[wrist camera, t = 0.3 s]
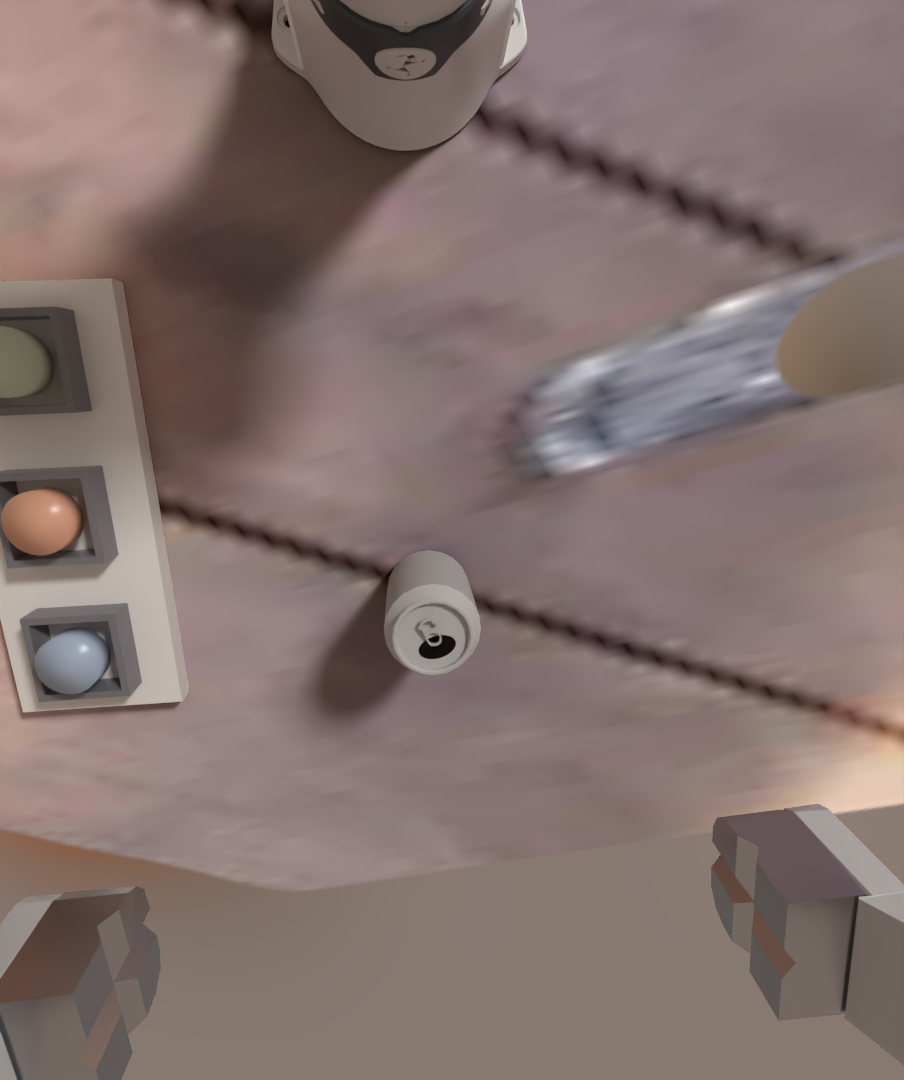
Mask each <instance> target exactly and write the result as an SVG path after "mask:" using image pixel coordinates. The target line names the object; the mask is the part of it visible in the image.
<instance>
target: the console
mask: <svg viewBox="0 0 904 1080" xmlns="http://www.w3.org/2000/svg"><path fill="white" fill-rule="evenodd" d="M0 326H4V327H12V328H19V329H23V330H26V331H29V332H31V333H33V334H34V335H36V336H37V337H38V338H40V339H41V340H42V341H43V342H44V344H45V345H46V346H47V348H48V349H49V351H50V353H51V356H52V359H53V363H54V373H53V377H52V380H51V382H50V384H49V385H48V387H47V388H46V389H45V390H44V391H42V392H41V393H39V394H37V395H34V396H30V397H14V398H2V397H0V620H1V624H2V628H3V632H4V637H5V641H6V645H7V649H8V653H9V657H10V661H11V665H12V670H13V674H14V678H15V682H16V686H17V690H18V694H19V698H20V702H21V707H22V711H23V712H38V711H52V710H67V709H81V708H96V707H110V706H125V705H139V704H154V703H168V702H182V701H183V699H184V698H185V697H186V695H187V694H188V692H189V685H188V679H187V673H186V667H185V660H184V654H183V648H182V642H181V636H180V630H179V624H178V617H177V611H176V605H175V599H174V593H173V587H172V581H171V574H170V568H169V562H168V556H167V550H166V544H165V538H164V531H163V525H162V519H161V513H160V507H159V501H158V495H157V488H156V482H155V476H154V470H153V464H152V458H151V452H150V445H149V439H148V433H147V427H146V421H145V415H144V409H143V402H142V396H141V390H140V384H139V378H138V372H137V366H136V359H135V353H134V347H133V341H132V335H131V329H130V323H129V316H128V310H127V304H126V298H125V292H124V286H123V282H121V281H118V280H115V279H112V278H105V279H68V280H32V281H0ZM44 487H50V488H56V489H59V490H62V491H64V492H66V493H67V494H69V495H70V496H71V497H72V498H74V499H75V501H76V502H77V503H78V504H79V506H80V508H81V510H82V512H83V516H84V528H83V531H82V533H81V535H80V537H79V538H78V539H77V540H76V541H75V542H74V543H72V544H71V545H69V546H67V547H65V548H63V549H61V550H59V551H57V552H55V553H52V554H49V555H43V556H39V555H32V554H28V553H25V552H23V551H21V550H20V549H18V548H16V547H15V546H14V545H13V544H12V543H11V542H10V541H9V540H8V538H7V537H6V535H5V533H4V531H3V528H2V524H1V514H2V511H3V508H4V506H5V505H6V503H7V502H8V501H9V500H10V499H11V498H13V497H14V496H16V495H18V494H21V493H25V492H28V491H31V490H35V489H38V488H44ZM70 628H84V629H88V630H90V631H93V632H95V633H96V634H98V635H99V636H100V637H101V638H102V639H103V640H104V641H105V642H106V644H107V645H108V647H109V650H110V654H111V661H110V665H109V668H108V670H107V671H106V672H105V673H104V674H103V675H102V676H101V677H100V678H99V679H98V680H97V681H96V682H95V683H94V684H93V685H92V686H91V687H90V688H89V689H87V690H85V691H83V692H81V693H77V694H63V693H59V692H56V691H54V690H52V689H50V688H48V687H47V686H46V685H45V684H44V683H43V682H42V681H41V680H40V679H39V677H38V675H37V673H36V671H35V666H34V660H35V656H36V653H37V651H38V650H39V648H40V647H41V646H42V645H44V644H45V643H46V642H48V641H49V640H50V639H52V638H53V637H54V636H56V635H57V634H59V633H60V632H62V631H64V630H66V629H70Z"/></svg>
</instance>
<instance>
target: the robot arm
mask: <svg viewBox="0 0 904 1080" xmlns="http://www.w3.org/2000/svg"><path fill="white" fill-rule="evenodd" d="M287 20H288V22H289V26H290V28H289V27H287V26H285V23H286V21H287ZM512 23H513V25H512V26H511V24H512ZM271 35H272V43H273V48H274V51H275V53H276V55H277V56H278V58H279V59H280V60H281V61H282V62H283V63H284V64H285V65H287V66H288V67H289V68H290V69H292V70H293V71H295V72H296V73H297V74H299V75H300V76H302V77H303V78H305V79H306V80H307V81H308V82H309V83H310V84H311V85H312V86H313V88H314V89H315V90H316V92H317V93H318V95H319V97H320V98H321V100H322V101H323V103H324V104H325V106H326V107H327V108H328V110H329V111H330V112H331V113H332V115H333V116H334V117H335V118H336V119H337V120H338V121H339V122H340V123H341V124H342V125H343V126H344V127H345V128H346V129H348V130H349V131H350V132H352V133H353V134H354V135H356V136H358V137H359V138H361V139H363V140H364V141H366V142H369V143H371V144H373V145H376V146H379V147H382V148H386V149H391V150H399V151H411V150H419V149H424V148H428V147H431V146H434V145H436V144H439V143H441V142H443V141H445V140H447V139H448V138H450V137H452V136H453V135H454V134H456V133H457V132H458V131H459V130H461V129H462V128H463V127H464V126H465V125H466V124H467V123H468V122H469V121H470V119H471V118H472V117H473V116H474V114H475V113H476V112H477V110H478V109H479V107H480V106H481V104H482V102H483V100H484V98H485V97H486V95H487V93H488V91H489V89H490V88H491V86H492V84H493V83H494V82H495V80H496V79H497V78H498V77H499V76H501V75H502V74H503V73H505V72H506V71H507V70H508V69H510V68H511V67H512V66H513V65H514V64H516V63H517V62H518V61H519V59H520V58H521V57H522V56H523V54H524V52H525V49H526V43H527V30H526V24H525V19H524V13H523V7H522V1H521V0H274V6H273V19H272V33H271ZM712 842H713V843H714V844H715V846H716V848H717V849H718V851H719V852H720V854H721V855H720V856H719V858H718V859H717V860H716V862H715V863H714V864H713V866H712V867H711V888H712V892H713V897H714V901H715V906H716V909H717V912H718V914H719V917H720V919H721V922H722V924H723V926H724V927H725V929H726V931H727V933H728V935H729V937H730V938H731V940H732V941H733V942H734V943H736V944H737V945H739V946H740V947H741V948H743V949H744V950H746V951H748V952H749V953H750V954H751V955H750V973H751V975H752V976H753V978H754V980H755V981H756V983H757V985H758V986H759V988H760V990H761V992H762V993H763V995H764V997H765V998H766V1000H767V1002H768V1003H769V1005H770V1007H771V1008H772V1010H773V1011H774V1014H775V1015H776V1017H777V1018H778V1020H789V1019H799V1018H809V1017H819V1016H828V1015H839V1014H845V1019H847V1020H848V1021H849V1022H850V1023H852V1024H853V1025H854V1026H856V1027H857V1028H858V1029H859V1030H861V1031H862V1032H863V1033H864V1034H866V1035H867V1036H868V1037H869V1038H871V1039H872V1040H873V1041H874V1042H876V1043H877V1044H878V1045H879V1046H880V1047H882V1048H883V1049H884V1050H885V1051H887V1052H888V1053H889V1054H890V1055H892V1056H893V1057H894V1058H896V1059H897V1060H898V1061H899V1062H901V1063H902V1064H903V1065H904V885H903V884H902V883H901V882H900V881H899V880H898V879H897V878H896V877H895V876H894V875H893V874H892V873H891V872H890V871H889V870H888V869H887V868H886V867H885V866H884V865H883V864H882V863H881V862H880V861H879V860H878V859H877V858H876V857H875V856H874V855H873V854H872V853H871V852H870V851H869V850H868V849H867V848H866V847H865V846H864V845H863V844H862V843H861V842H860V841H859V840H858V839H857V838H856V837H855V836H854V835H853V833H851V831H850V830H848V829H847V827H845V825H843V823H842V822H841V821H840V820H839V819H837V817H836V816H835V815H834V814H833V813H832V812H831V811H830V810H829V809H827V808H826V807H824V806H821V805H819V804H814V805H807V806H799V807H792V808H785V809H784V810H774V811H766V812H758V813H750V814H742V815H734V816H727V817H719V818H717V819H716V821H715V823H714V825H713V838H712ZM149 909H150V907H149V904H148V901H147V897H146V895H145V891H144V889H142V888H139V887H137V886H133V887H123V888H112V889H101V890H91V891H79V892H70V893H69V892H68V893H64V894H56V895H46V896H34V897H27V898H25V899H23V900H22V901H20V902H19V903H17V904H15V906H14V907H13V908H12V909H11V910H10V912H9V913H8V915H7V916H6V917H5V918H4V920H3V921H2V922H1V924H0V1080H121V1079H122V1076H123V1074H124V1072H125V1069H126V1066H127V1064H128V1062H129V1059H130V1057H131V1055H132V1049H131V1045H130V1042H129V1038H128V1035H129V1034H130V1033H131V1031H133V1030H134V1029H135V1028H136V1027H137V1026H138V1025H139V1024H140V1023H141V1022H142V1021H143V1020H144V1019H145V1018H146V1017H147V1015H148V1013H149V1010H150V1007H151V1005H152V1002H153V999H154V997H155V994H156V990H157V983H158V979H159V973H160V948H159V944H158V940H157V935H156V934H155V933H154V932H152V931H151V930H150V929H149V928H147V927H146V926H145V925H144V924H143V922H144V920H145V918H146V916H147V914H148V912H149Z"/></svg>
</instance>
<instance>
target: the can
mask: <svg viewBox="0 0 904 1080" xmlns="http://www.w3.org/2000/svg"><path fill="white" fill-rule="evenodd" d="M480 632H481V626H480V619H479V614H478V611H477V607H476V604H475V601H474V598H473V594H472V591H471V588H470V585H469V582H468V578H467V576H466V574H465V572H464V570H463V568H462V566H461V565H460V564H459V563H458V562H457V561H456V560H455V559H454V558H452V557H450V556H448V555H446V554H444V553H442V552H437V551H430V550H427V551H420V552H415V553H413V554H411V555H409V556H407V557H405V558H403V559H402V560H401V561H400V562H399V563H398V564H397V565H396V566H395V568H394V569H393V571H392V573H391V575H390V577H389V582H388V588H387V598H386V610H385V622H384V635H385V640H386V645H387V647H388V649H389V650H390V652H391V654H392V656H393V657H394V658H395V659H396V660H397V661H398V662H399V663H401V664H402V665H403V666H404V667H406V668H408V669H410V670H412V671H414V672H417V673H419V674H423V675H431V676H435V675H441V674H446V673H448V672H450V671H452V670H454V669H457V668H458V667H459V666H460V665H462V664H463V663H464V662H465V661H466V660H467V659H468V658H469V657H470V656H471V655H472V653H473V652H474V650H475V648H476V646H477V645H478V642H479V637H480Z"/></svg>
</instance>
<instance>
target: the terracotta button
mask: <svg viewBox="0 0 904 1080" xmlns="http://www.w3.org/2000/svg"><path fill="white" fill-rule="evenodd" d="M1 524H2V528H3V531H4V533H5V535H6V537H7V538H8V540H9V541H10V542H11V543H12V544H13V545H14V546H15V547H16V548H18V549H20V550H21V551H23V552H25V553H28V554H32V555H39V556H43V555H49V554H52V553H55V552H57V551H59V550H61V549H63V548H65V547H67V546H69V545H71V544H72V543H74V542H75V541H76V540H77V539H78V538H79V537H80V535H81V533H82V531H83V528H84V516H83V512H82V510H81V508H80V506H79V504H78V503H77V502H76V501H75V499H74V498H72V497H71V496H70V495H69V494H67V493H66V492H64V491H62V490H59V489H56V488H50V487H44V488H38V489H35V490H31V491H28V492H25V493H21V494H18V495H16V496H14V497H13V498H11V499H10V500H9V501H8V502H7V503H6V505H5V506H4V508H3V511H2V514H1Z"/></svg>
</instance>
